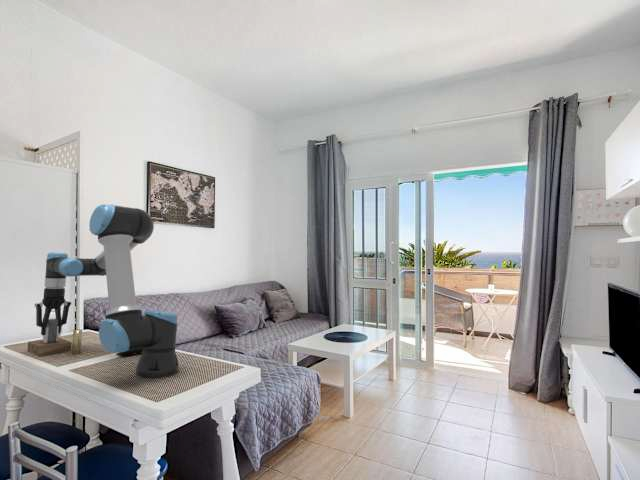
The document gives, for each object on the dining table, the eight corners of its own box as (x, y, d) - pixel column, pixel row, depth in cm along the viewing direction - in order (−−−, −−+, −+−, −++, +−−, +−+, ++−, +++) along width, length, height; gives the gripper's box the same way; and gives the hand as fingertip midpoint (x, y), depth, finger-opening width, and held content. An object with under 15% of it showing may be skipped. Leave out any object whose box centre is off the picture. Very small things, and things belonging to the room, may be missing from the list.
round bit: (81, 353, 163) (83, 330, 163) (73, 355, 160) (75, 331, 160) (78, 352, 164) (80, 329, 165) (70, 353, 162) (72, 330, 162)
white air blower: (40, 341, 179) (43, 303, 180) (59, 339, 184) (62, 302, 185) (42, 344, 173) (45, 305, 174) (62, 342, 179) (65, 304, 179)
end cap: (121, 358, 160) (122, 342, 160) (114, 354, 164) (116, 339, 164) (145, 354, 167) (146, 339, 167) (138, 351, 172) (139, 336, 172)
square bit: (56, 342, 164) (57, 319, 164) (47, 343, 161) (49, 320, 162) (52, 341, 166) (54, 318, 166) (44, 342, 163) (46, 319, 164)
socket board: (70, 351, 165) (71, 342, 165) (38, 356, 155) (39, 346, 155) (58, 346, 172) (59, 337, 172) (27, 351, 162) (28, 341, 162)
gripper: (71, 286, 174) (67, 337, 172) (29, 287, 160) (24, 343, 159) (79, 287, 169) (74, 340, 168) (36, 289, 156) (31, 346, 155)
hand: (50, 341), depth 164 cm, fingers closed on square bit, 3 cm apart
